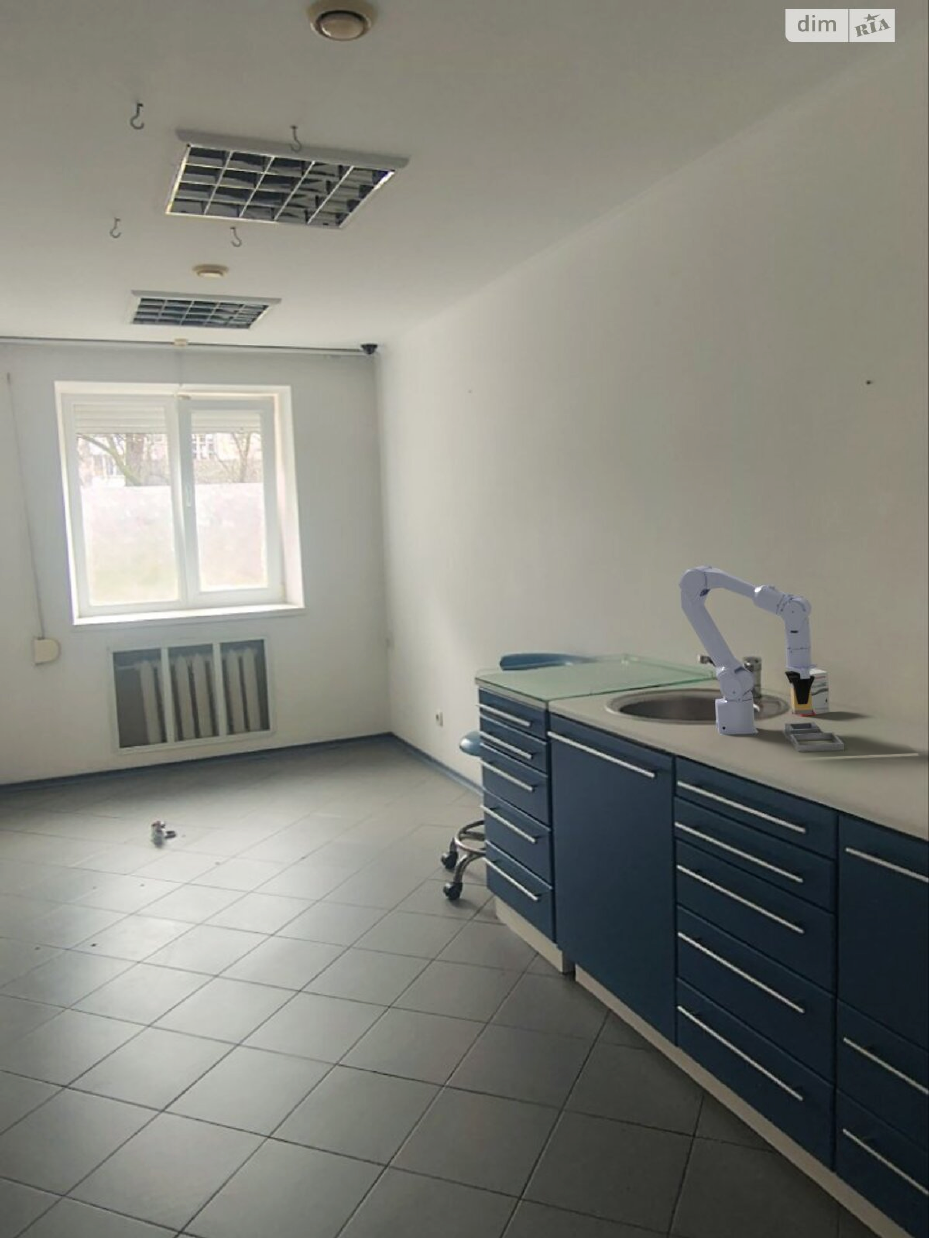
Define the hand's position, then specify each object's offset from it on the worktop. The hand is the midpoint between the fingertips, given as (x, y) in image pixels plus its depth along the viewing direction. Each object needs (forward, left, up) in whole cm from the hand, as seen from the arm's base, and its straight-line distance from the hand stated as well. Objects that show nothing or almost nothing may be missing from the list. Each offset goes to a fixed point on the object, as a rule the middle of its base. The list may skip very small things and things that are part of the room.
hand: (800, 701), depth 214 cm
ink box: (+6, +20, -9) cm, 23 cm away
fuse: (0, 0, -2) cm, 3 cm away
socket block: (0, 0, -8) cm, 9 cm away
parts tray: (+1, -11, -8) cm, 14 cm away
